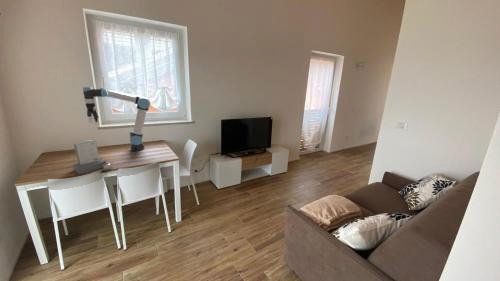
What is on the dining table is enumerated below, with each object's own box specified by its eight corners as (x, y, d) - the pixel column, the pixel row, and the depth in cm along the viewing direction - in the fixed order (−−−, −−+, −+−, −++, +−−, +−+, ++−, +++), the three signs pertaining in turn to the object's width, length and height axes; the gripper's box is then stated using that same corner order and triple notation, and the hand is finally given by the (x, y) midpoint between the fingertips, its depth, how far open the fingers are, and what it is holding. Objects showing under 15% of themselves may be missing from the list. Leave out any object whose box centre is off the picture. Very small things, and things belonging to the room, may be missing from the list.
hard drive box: (97, 158, 204) (93, 139, 198) (100, 160, 199) (96, 141, 193) (77, 163, 192) (73, 142, 187) (79, 165, 188) (75, 144, 182)
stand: (100, 162, 209) (99, 157, 207) (107, 166, 201) (106, 160, 200) (73, 170, 191) (72, 164, 190) (79, 174, 184) (78, 168, 182)
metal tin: (110, 167, 201) (109, 162, 199) (113, 168, 197) (113, 164, 196) (102, 169, 195) (101, 164, 194) (105, 171, 192) (104, 166, 190)
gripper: (80, 102, 210) (84, 122, 216) (90, 104, 197) (94, 126, 203) (89, 101, 216) (93, 121, 222) (99, 103, 202) (103, 125, 209)
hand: (94, 123), depth 212 cm, fingers open, 13 cm apart
